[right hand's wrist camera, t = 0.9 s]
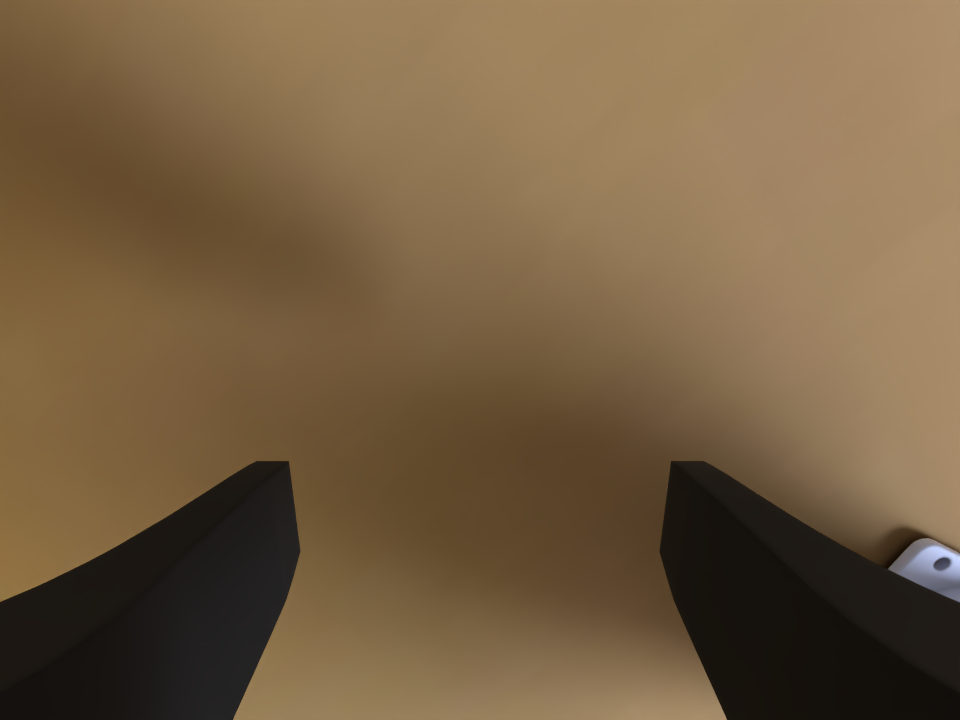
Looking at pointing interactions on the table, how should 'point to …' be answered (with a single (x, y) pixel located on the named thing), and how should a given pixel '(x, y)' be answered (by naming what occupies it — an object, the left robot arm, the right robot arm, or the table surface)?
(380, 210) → the table surface
